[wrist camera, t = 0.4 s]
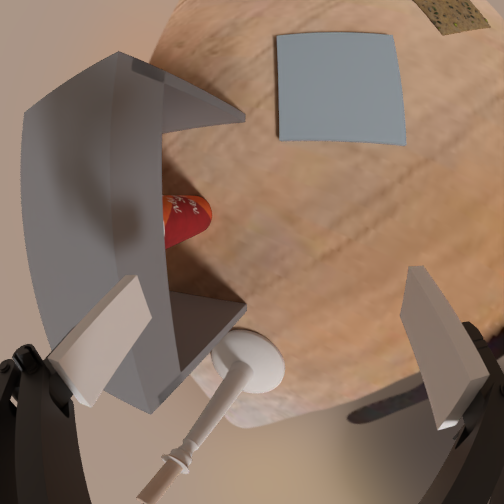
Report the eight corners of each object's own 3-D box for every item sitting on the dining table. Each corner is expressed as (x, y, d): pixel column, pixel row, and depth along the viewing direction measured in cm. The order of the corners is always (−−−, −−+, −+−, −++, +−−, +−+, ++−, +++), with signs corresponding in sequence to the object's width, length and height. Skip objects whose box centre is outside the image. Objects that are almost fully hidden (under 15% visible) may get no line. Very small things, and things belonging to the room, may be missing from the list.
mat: (278, 38, 30) (276, 35, 29) (392, 38, 25) (392, 35, 24) (281, 141, 34) (279, 140, 33) (404, 146, 29) (406, 144, 28)
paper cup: (219, 189, 38) (156, 194, 26) (218, 242, 40) (158, 269, 28) (174, 187, 41) (106, 193, 28) (174, 236, 43) (109, 258, 30)
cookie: (442, 38, 22) (443, 35, 21) (393, -17, 21) (394, -20, 20) (491, 29, 17) (493, 27, 16) (445, -24, 16) (446, -27, 16)
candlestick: (241, 398, 46) (153, 524, 19) (199, 345, 46) (77, 460, 19) (299, 378, 41) (224, 545, 14) (255, 317, 41) (122, 473, 14)
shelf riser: (153, 128, 40) (24, 112, 18) (245, 113, 35) (118, 51, 13) (161, 295, 47) (54, 358, 25) (246, 310, 41) (150, 414, 20)
